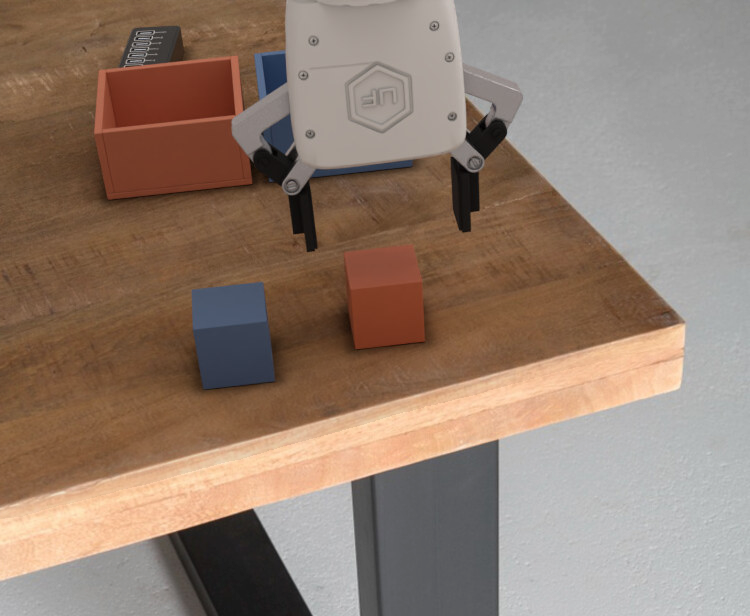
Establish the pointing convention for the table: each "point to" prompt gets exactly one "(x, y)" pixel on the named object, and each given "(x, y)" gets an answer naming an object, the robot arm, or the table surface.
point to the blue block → (232, 335)
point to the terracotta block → (384, 296)
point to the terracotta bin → (170, 127)
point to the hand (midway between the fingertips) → (386, 231)
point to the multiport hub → (153, 46)
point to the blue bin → (281, 134)
